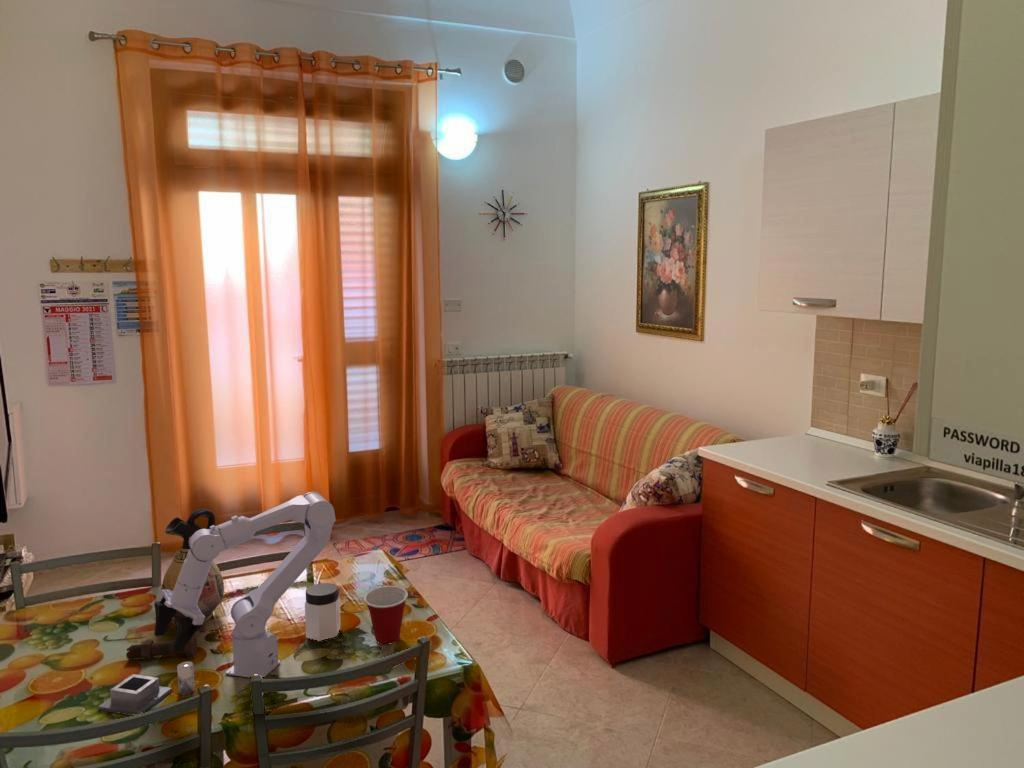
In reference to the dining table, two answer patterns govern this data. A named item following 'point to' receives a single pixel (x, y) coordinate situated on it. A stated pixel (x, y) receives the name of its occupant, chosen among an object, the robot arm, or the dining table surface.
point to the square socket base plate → (135, 695)
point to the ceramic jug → (214, 580)
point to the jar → (322, 611)
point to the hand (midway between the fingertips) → (168, 642)
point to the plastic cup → (386, 612)
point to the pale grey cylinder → (185, 678)
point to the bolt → (160, 649)
